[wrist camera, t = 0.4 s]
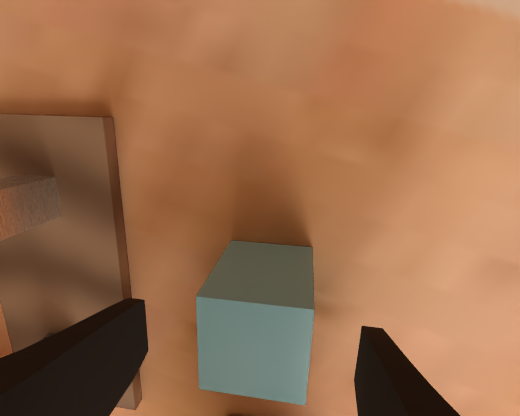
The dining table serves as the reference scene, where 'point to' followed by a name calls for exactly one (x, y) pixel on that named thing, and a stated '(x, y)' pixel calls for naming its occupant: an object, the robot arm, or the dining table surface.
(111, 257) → the walnut board
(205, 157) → the dining table surface
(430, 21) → the dining table surface
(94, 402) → the robot arm
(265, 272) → the teal block
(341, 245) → the dining table surface
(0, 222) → the tan wooden block
